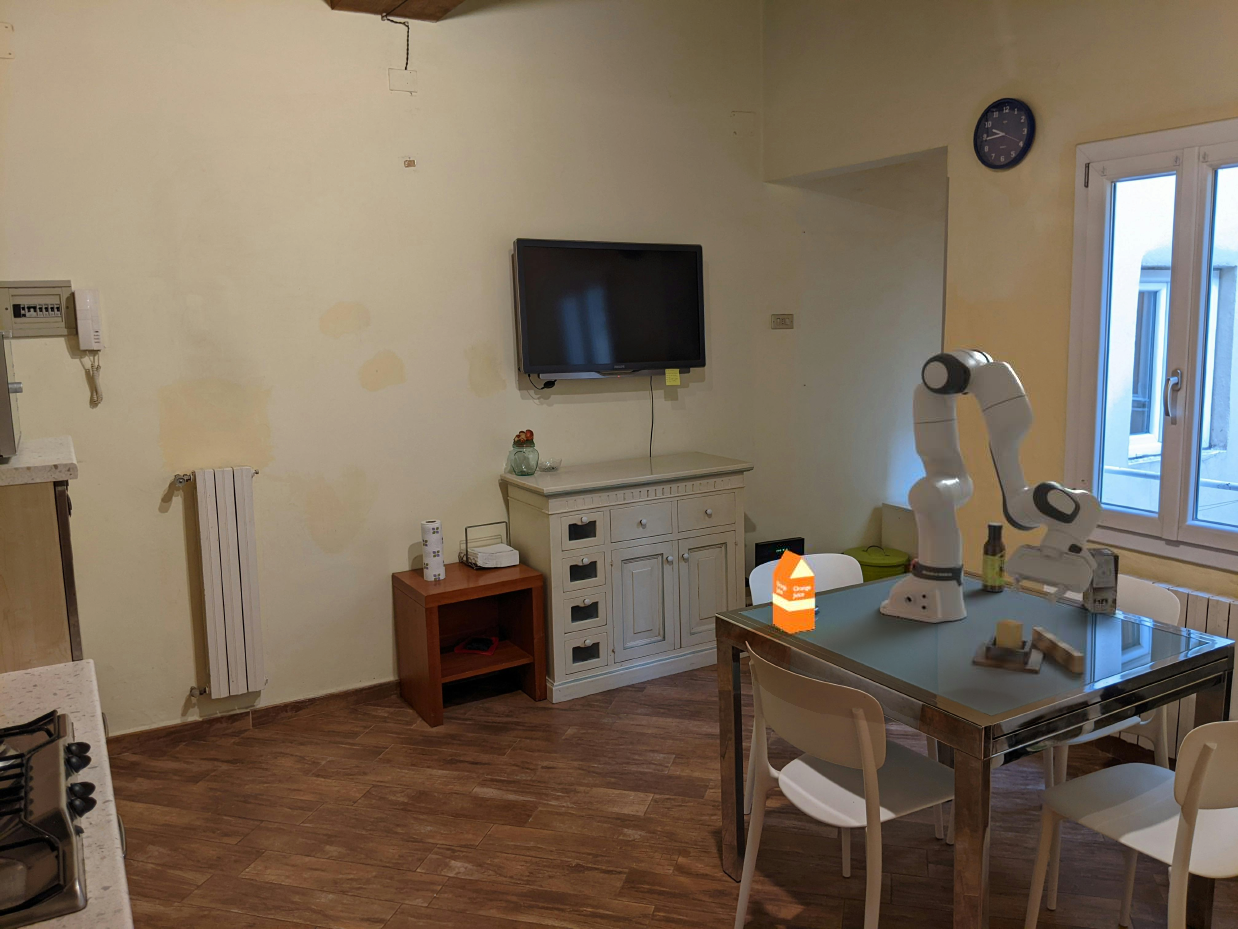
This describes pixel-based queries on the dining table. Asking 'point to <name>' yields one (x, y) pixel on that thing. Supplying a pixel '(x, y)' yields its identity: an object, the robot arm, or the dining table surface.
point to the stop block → (1009, 634)
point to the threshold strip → (1058, 649)
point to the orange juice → (793, 594)
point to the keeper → (1009, 656)
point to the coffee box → (1102, 582)
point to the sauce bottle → (994, 559)
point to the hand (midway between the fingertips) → (1031, 597)
